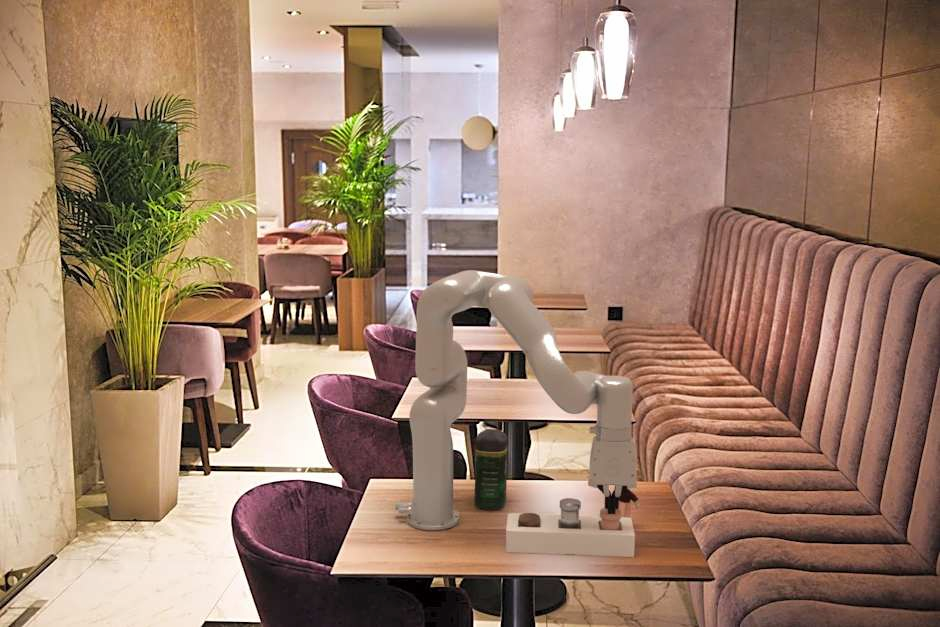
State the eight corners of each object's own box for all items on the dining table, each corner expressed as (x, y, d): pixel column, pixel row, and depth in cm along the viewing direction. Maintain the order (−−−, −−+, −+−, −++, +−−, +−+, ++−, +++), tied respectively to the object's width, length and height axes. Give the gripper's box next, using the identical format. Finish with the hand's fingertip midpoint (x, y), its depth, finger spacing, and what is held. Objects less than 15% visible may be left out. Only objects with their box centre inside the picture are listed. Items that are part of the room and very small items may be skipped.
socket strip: (505, 552, 212) (506, 530, 211) (507, 533, 222) (508, 513, 221) (634, 557, 210) (634, 535, 209) (630, 538, 220) (631, 517, 219)
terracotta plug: (599, 541, 213) (600, 515, 212) (598, 532, 218) (599, 507, 216) (621, 541, 213) (622, 516, 212) (619, 533, 217) (620, 508, 216)
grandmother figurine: (605, 525, 227) (606, 474, 225) (610, 520, 230) (612, 469, 228) (636, 532, 224) (638, 480, 221) (641, 526, 227) (643, 475, 225)
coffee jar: (504, 511, 235) (505, 439, 232) (472, 510, 236) (472, 437, 233) (508, 497, 244) (509, 427, 241) (477, 495, 245) (477, 425, 242)
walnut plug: (518, 546, 215) (518, 520, 214) (518, 537, 219) (519, 512, 218) (539, 546, 214) (539, 521, 213) (539, 538, 219) (540, 513, 218)
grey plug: (559, 531, 213) (559, 505, 212) (558, 523, 218) (559, 497, 217) (580, 532, 213) (581, 506, 212) (579, 523, 218) (580, 498, 216)
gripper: (579, 436, 208) (578, 517, 211) (650, 438, 206) (647, 519, 210) (578, 426, 215) (577, 504, 218) (646, 428, 214) (643, 506, 217)
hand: (611, 511), depth 214 cm, fingers closed
